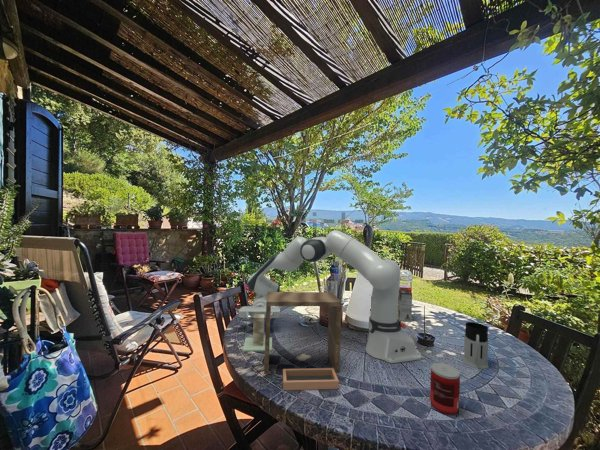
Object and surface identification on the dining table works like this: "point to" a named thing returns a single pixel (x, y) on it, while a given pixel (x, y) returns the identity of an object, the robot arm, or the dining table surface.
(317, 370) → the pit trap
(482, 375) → the dining table surface
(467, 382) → the dining table surface
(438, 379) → the canned food
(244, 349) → the sage pad
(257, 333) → the ash block
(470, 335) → the glass holder
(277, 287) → the robot arm
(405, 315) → the coffee box
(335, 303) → the walnut tunnel
